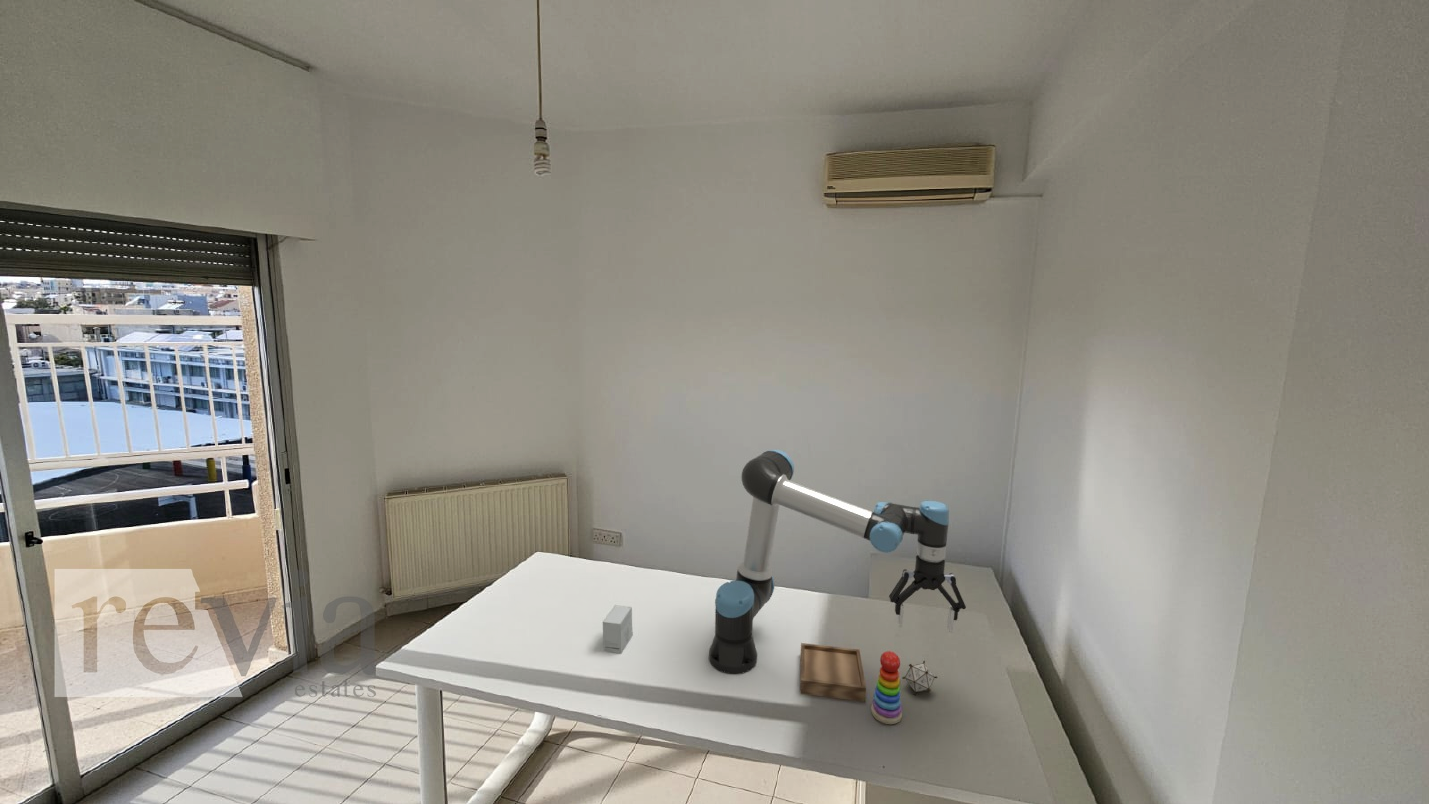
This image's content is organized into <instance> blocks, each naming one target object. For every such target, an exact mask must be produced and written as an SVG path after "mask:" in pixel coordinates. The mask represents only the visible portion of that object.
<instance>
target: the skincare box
mask: <svg viewBox="0 0 1429 804" xmlns="http://www.w3.org/2000/svg"><path fill="white" fill-rule="evenodd" d="M632 611H633V607H632V606H627V605H618V604H615V605H614V606H613V607H612V608H611V610H610V611H609V612H608V614H607V615H606V617H605V618H604V619H602V639H603V642H602V644H603V652H607V653H615V654H620V655H621V654H622V653H623V652H624V650H625V649H626V647H627V646H628V644H629V642H630V640H631V639H632V637H633V633H634V632H633V612H632Z"/></svg>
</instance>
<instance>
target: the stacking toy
mask: <svg viewBox="0 0 1429 804" xmlns="http://www.w3.org/2000/svg"><path fill="white" fill-rule="evenodd" d="M879 661H880V666H881V667H880V668H879V674H878V678H877V681H876V685H875V688H874V693H873V700H872V704H871V706H870V710H871V714H872V716H873V717H874V719H876V720H877V721H878V722H880V723H882V724H885V725H894V724H895V725H896V724H898V723H899V722H900V721H901V720H902V716H903V714H902V709H903V706H902V703H901V685H900V684H901V679H900V671H899V669H900V666H901V660H900V657H899V656H898V654H897V653H895V652H894V651H892V650H891V651H890V650H888V651H884V652H883V653H882V654H881V656H880V660H879Z"/></svg>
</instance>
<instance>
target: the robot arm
mask: <svg viewBox="0 0 1429 804" xmlns="http://www.w3.org/2000/svg"><path fill="white" fill-rule="evenodd" d="M741 471H742V472H741V477H740V478H741V482H742V483H741V484H742V486H743V488H744V490H745V491H746V492H747V493H748V495H750V496H752V504H751V511H750V517H749V523H748V529H747V536H746V541H745V543H746V544H745V549H744V556H743V561H742V562H740V563H739V564H738V566H737V571H736V578H735V580H730V581H729V582H728V581H726V582H725V583H723V584H721V585H720V586H719V587H718V589H717V591H716V593H715V594H716V595H715V600H714V607H715V610H714V611H715V612H714V613H715V615H714V618H715V619H714V620H715V622H714V623H715V624H714V637H713V638H712V642H711V645H710V647H709V650H708V660H709V663H710V665H711V666H712V667H713V668H714V669H716V670H717V671H719V672H721V673H724V674H730V675H738V674H739V675H740V674H744V673H746V672H749V671H751V670H752V669H754V668H755V667H756V665H757V662H758V651H757V647H756V645H755V641H754V637H753V629H754V628H753V623H754V618H755V617H756V615H758V613H759V612H760V611H761V609H762V608H763V607H764V606H765V604H767V603H768V602H769V601H770V600H771V598H772V596H773V594H774V592H775V591H774V590H775V580H774V579H775V578H774V577H773V573H774V572H773V570H772V568H771V567H770V564H771V557H772V552H773V547H774V546H773V545H774V539H775V534H776V527H777V522H778V515H779V509H780V506H782V507H784V508H787V509H790V510H791V511H792V510H793V511H795V512H797V513H800V514H802V515H805V516H807V517H808V518H812V519H814V520H817V521H819V522H822V523H824V524H827V525H830V526H833V527H834V528H837V529H839V530H842V531H845V532H847V533H849V534H853V535H855V536H857V537H859V538H862V539H865V540H866V541H870V542H869V543H870V544H871V545H872V546H873V548H874V549H875V550H877V551H879V552H881V553H891V552H894V551H896V550H897V549H898V547H899V546H900V545H901V543H902V542H903V537H904V536H905V534H908V535H909V534H910V535H916V536H917V542H916V556H915V565H914V571H913V572H912V571H908V570H907V569H906V568H905V569H903V570H902V575H901V577H900V578H899V580H898V582H897V583H896V584H895V586H894V587H893V589H892V591H891V592H890V594H889V595H888V598H889V600H890V603H894V604H895V606H894V612H895V615H897V624H898V628H903V621H904V607H905V606H904V603H905V602H906V600H908V599H909V598H910V597H911V596H913V594H915V593H916V592H917V591H919V590H920V589H922V590H930V591H935V590H938V592H940V594H942V596H943V597H944V598H945V599H946V600H947V602H948V603H949V604H950V605H949V606H948V615H947V625H946V626H947V629H948V632H949V633H953V630H954V621H958V617H959V612H960V611H961V609H962V610H965V609H966V608H967V606H966V604H965V602H964V599H963V598H962V595H961V593H960V590H959V588H958V586H957V580H956V579H957V578H956V577H955V575H954V573H953V572H951V573H949V574H945V566H946V565H945V564H946V560H945V559H946V553H947V549H946V548H947V541H948V533H949V518H950V517H949V516H950V515H949V514H950V510H949V507H948V506H947V505H946V504H945V503H943V502H940V501H935V500H925V501H921V502H920V504H919V507H916V506H909V505H904V504H900V503H893V502H890V501H889V502H884V501H879V502H877V503H876V504H875V507H874V511H872V510H869V509H866V508H864V507H861V506H859V505H856V504H853V503H851V502H848V501H846V500H844V499H840V498H838V497H834V496H832V495H829V494H827V493H824V492H823V491H819V490H817V489H814V488H811V487H808V486H806V485H804V484H800V483H798V482H795V481H793V480H792V478H793V476H794V472H795V465H794V463H793V460H792V459H791V458H790V456H789V455H788V454H787V453H786V452H784V451H782V450H781V449H780V450H779V449H771V450H766V451H763V452H762V453H760V454H759V455H758V456H756V457H755V458H752V459H750V460H749V461H748V462H746V464H745V465H744V466H743V468H742V470H741ZM912 578H914V580H913V581H912V582H911V584H909V585H908V586H907V587H906V585H907V584H908V581H910V580H912ZM946 581H947V583H948V584H950V587H951V589H952V592H953V593H954V595H955V597H956V598H955V599H957V602H956V600H954V599H953V598H952V595H950V594H949V592H948V591H947V590H946V588H945V587H944V586H943V583H944V582H946ZM905 587H906V588H905ZM904 588H905V589H904ZM903 589H904V590H903Z"/></svg>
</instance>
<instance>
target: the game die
mask: <svg viewBox="0 0 1429 804" xmlns="http://www.w3.org/2000/svg"><path fill="white" fill-rule="evenodd" d="M908 667H909V668H908V671H907V672H906V674H905V676H902V677H901V679H904V680H906V681H907V684H909V686H910V687H911V689H912V690H913V691H914V693H913V694H914V696H916V695H917V693H919V692H923V691H927V692H932V690H931V687H932V685H933V683H934V680H935V679H938V676H937V675H936V676H934V674H933V673H932V672H931V670H930V669H929V668H928V667H927V665H926V660H925V659H924V660H923V661H922V663H918V664H913V665H912V663H909V664H908Z"/></svg>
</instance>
